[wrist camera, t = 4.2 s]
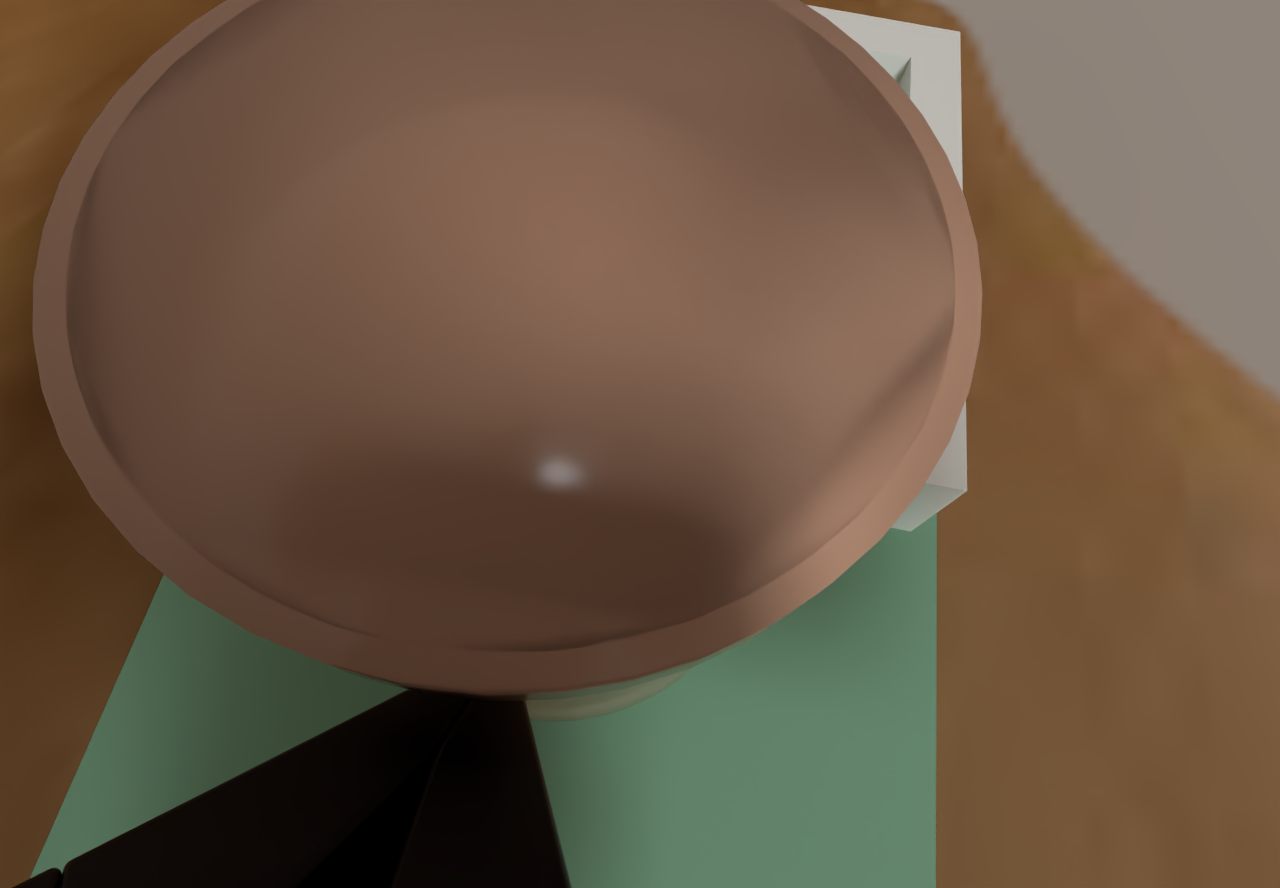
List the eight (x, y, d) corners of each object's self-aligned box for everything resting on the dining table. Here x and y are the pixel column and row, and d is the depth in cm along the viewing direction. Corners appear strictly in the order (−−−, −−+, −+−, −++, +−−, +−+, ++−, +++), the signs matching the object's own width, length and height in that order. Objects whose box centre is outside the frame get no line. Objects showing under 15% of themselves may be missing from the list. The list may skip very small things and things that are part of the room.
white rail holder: (910, 531, 15) (966, 490, 13) (262, 413, 16) (205, 353, 13) (918, 114, 20) (959, 31, 18) (425, 27, 20) (405, -66, 18)
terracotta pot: (491, 841, 13) (312, 983, 4) (275, 462, 15) (-99, 101, 7) (851, 565, 15) (1169, 323, 7) (613, 277, 18) (637, -155, 9)
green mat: (922, 1318, 11) (934, 1337, 11) (-65, 1130, 11) (-88, 1143, 11) (931, 111, 21) (937, 99, 21) (416, 20, 21) (413, 7, 21)
